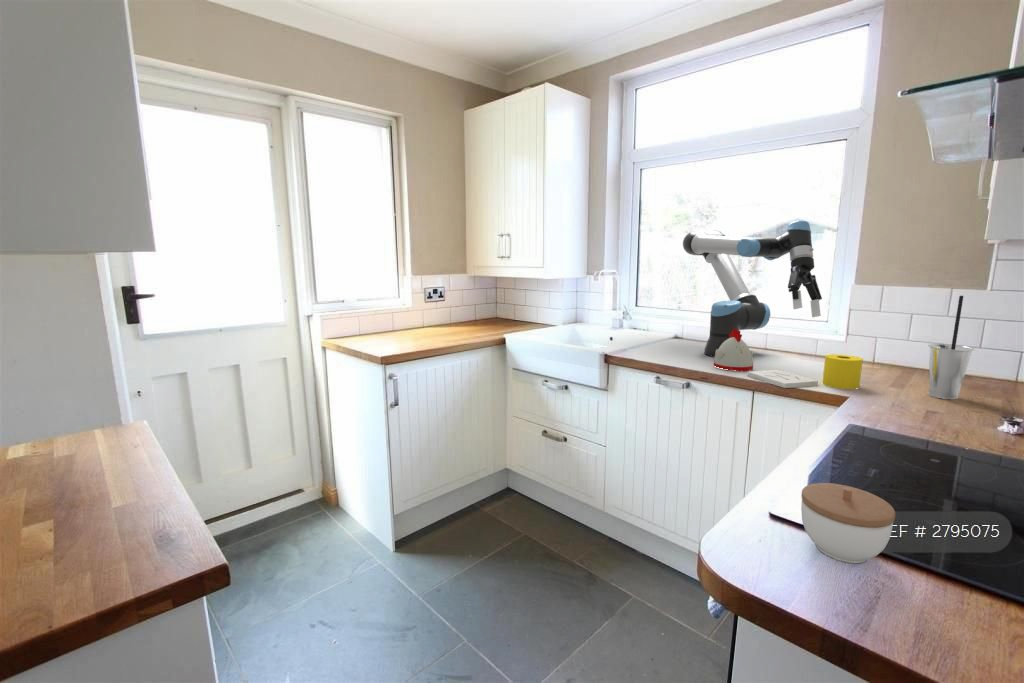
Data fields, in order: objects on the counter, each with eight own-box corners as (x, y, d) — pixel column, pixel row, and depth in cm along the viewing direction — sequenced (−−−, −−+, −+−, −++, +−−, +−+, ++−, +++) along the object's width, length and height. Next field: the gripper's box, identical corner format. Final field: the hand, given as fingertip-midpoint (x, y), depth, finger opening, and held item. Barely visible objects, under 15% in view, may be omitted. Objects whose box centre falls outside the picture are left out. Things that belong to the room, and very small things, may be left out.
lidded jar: (788, 524, 74) (793, 468, 72) (868, 535, 71) (876, 477, 69) (809, 566, 64) (816, 502, 62) (904, 581, 61) (913, 514, 59)
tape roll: (865, 390, 149) (868, 361, 147) (829, 388, 151) (832, 359, 150) (850, 382, 158) (854, 355, 157) (817, 380, 161) (820, 353, 159)
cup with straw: (947, 391, 147) (961, 295, 141) (978, 402, 135) (996, 298, 130) (909, 390, 148) (923, 295, 143) (938, 401, 137) (953, 298, 131)
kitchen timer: (723, 371, 175) (726, 332, 173) (707, 363, 189) (709, 326, 186) (760, 371, 176) (763, 331, 173) (741, 363, 189) (744, 326, 187)
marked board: (747, 375, 168) (747, 371, 168) (778, 373, 171) (778, 369, 171) (784, 388, 152) (784, 383, 152) (817, 385, 155) (818, 380, 154)
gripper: (795, 246, 170) (800, 302, 164) (828, 265, 183) (834, 317, 177) (774, 253, 176) (779, 307, 170) (807, 271, 189) (813, 321, 183)
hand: (807, 312), depth 174 cm, fingers open, 13 cm apart
